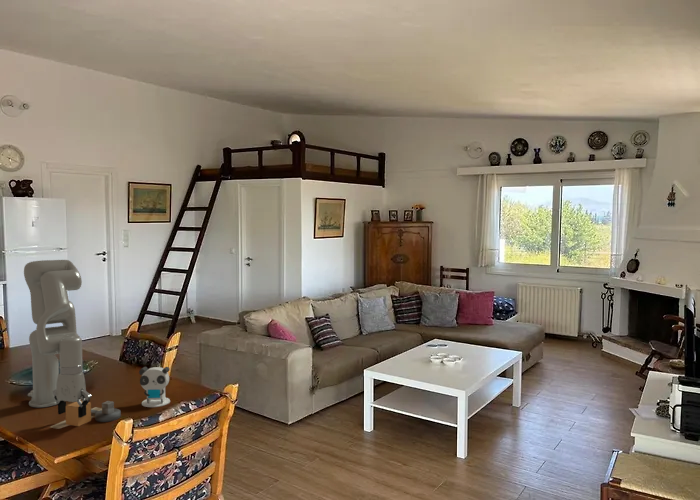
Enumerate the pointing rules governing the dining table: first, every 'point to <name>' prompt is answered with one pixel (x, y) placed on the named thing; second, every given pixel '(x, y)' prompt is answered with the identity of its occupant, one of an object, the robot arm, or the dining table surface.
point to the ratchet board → (99, 414)
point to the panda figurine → (154, 386)
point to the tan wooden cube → (73, 414)
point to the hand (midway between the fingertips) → (72, 414)
